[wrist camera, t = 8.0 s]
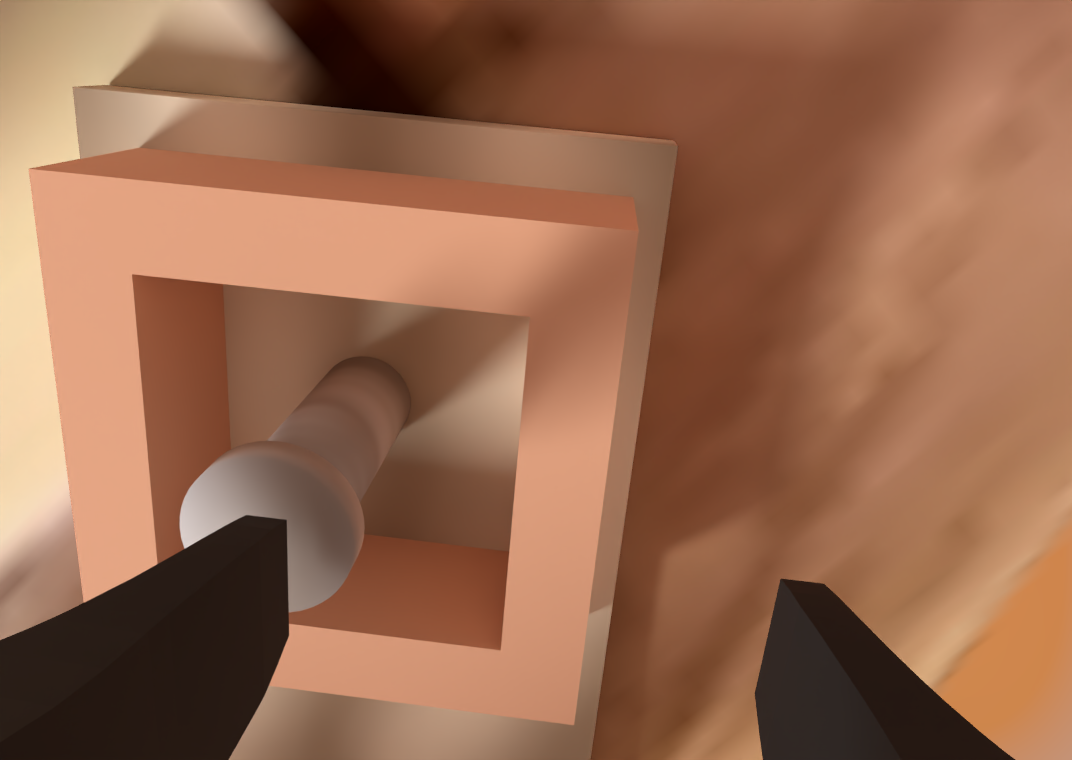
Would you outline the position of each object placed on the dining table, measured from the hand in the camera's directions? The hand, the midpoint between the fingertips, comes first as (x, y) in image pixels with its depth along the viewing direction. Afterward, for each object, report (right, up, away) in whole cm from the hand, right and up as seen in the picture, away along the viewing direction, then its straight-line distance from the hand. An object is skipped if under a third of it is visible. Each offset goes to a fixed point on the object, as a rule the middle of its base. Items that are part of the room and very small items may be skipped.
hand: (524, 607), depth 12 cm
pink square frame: (-3, +3, +6) cm, 8 cm away
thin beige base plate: (-4, 0, +9) cm, 10 cm away
